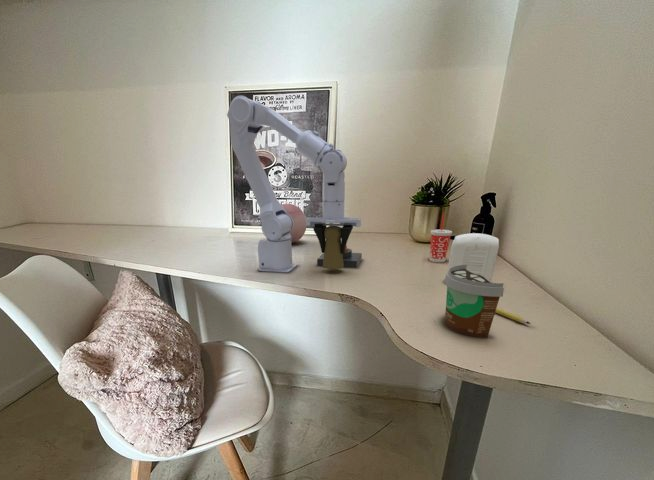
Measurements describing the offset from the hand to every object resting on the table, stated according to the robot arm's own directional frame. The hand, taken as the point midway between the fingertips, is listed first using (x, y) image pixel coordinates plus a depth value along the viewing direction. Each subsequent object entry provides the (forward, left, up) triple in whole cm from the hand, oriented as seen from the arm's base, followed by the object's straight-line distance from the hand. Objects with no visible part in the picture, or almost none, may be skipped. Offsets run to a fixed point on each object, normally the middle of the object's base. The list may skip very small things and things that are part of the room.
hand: (333, 252), depth 93 cm
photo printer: (+35, -3, -6) cm, 36 cm away
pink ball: (-26, +35, -6) cm, 44 cm away
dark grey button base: (0, +10, -6) cm, 11 cm away
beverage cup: (+29, +19, -6) cm, 35 cm away
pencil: (+38, -21, -6) cm, 44 cm away
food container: (+30, -29, -6) cm, 42 cm away
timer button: (0, +10, -2) cm, 10 cm away
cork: (0, 0, -4) cm, 4 cm away
